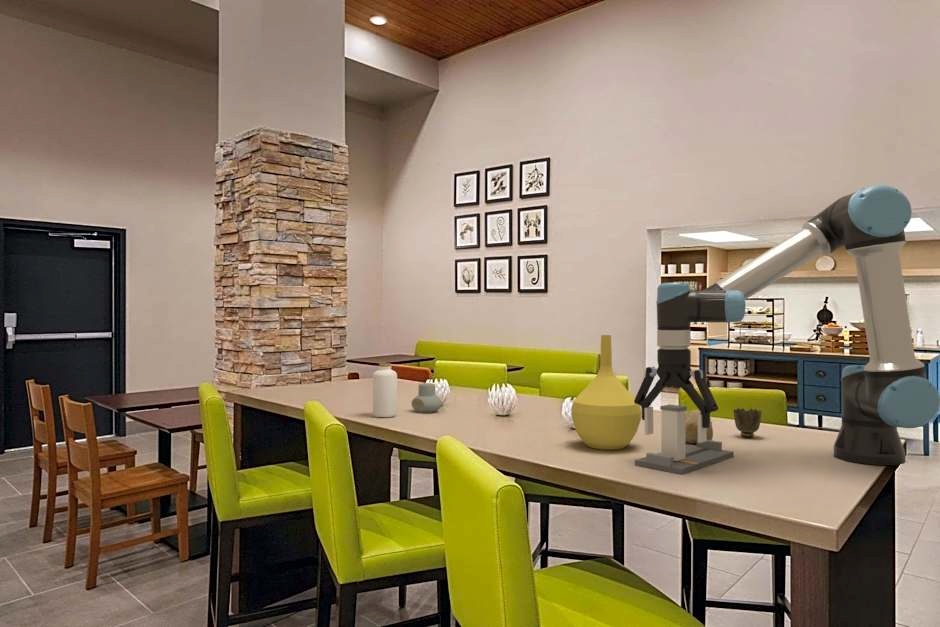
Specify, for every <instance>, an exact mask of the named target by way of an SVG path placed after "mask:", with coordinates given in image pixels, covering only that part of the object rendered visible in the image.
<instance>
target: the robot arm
mask: <svg viewBox="0 0 940 627" xmlns="http://www.w3.org/2000/svg"><path fill="white" fill-rule="evenodd" d="M911 218H912V205H911V203H910V200H909V199H908V198H907V196H906V195H905V194H904V193H903V192H902V191H900V190H899V189H898V188H895V187H894V186H891V185H886V184H885V185H883V184H876V185H871V186H867V187H863V188H860V189H858V190H857V191H855V192H852V193H850V194H847V195H845V196H841V197H840V198H838V199H836V200H835V201H833V202H832V203H831V204H830V205H828V206H827V207H825V209H823V210H821V211H820V212H819V213H818V214H816V215H815V216H813V217H812V218H810V219H809V220H807V221H806V222H804V223H803V224H802V227H801V230H799V231H797V232H795V233H794V234H792V235H790V236H789V237H788V238H786V239H784V240H782V241H781V242H779V243H777V244H776V245H774V246H773V247H771V248H770V249H768V250H766V251H765V252H763V253H761V254H760V255H758V256H757V257H755V258H753V259H752V260H750V261H748V262H747V263H745V264H744V265H742V266H740V267H738V268H737V269H736V270H734V271H732V272H730V273H729V274H727V275H725V276H724V277H722V278H721V279H719V280H717V281H716V282H714V283H713V284H712V285H709V286H708V287H706V288H705V289H703V290H692V288H691V284H690V283H689V282H679V281H678V282H676V281H675V282H662V283H659V285H658V286H657V290H656V291H657V293H656V294H657V295H656V296H657V297H656V322H657V323H656V328H657V329H656V334H657V335H656V336H657V338H656V341H657V344H656V345H657V347H659V348H658V350H657V359H656V360H657V365H658V366H657V368H656V367H655V366H648V367H646V368H645V374H644V378H643V380H642V382H641V385H640V386H639V389H638V391H637V393H636V396H635V397H634V398H635V400H634V403H635V404H639V405H640V408H641V420H642V421H644V435H645V436H650V435H653V434H654V407H653V406H652V403H653V402H654V401H655V400H656V398H657V397H658V396H659V395H660V394H661V392H662V391H663V390H664V389H665V388H674V389H682V390H683V391H684V392H685V393H686V394H687V396H688V397H689V398H690V399H691V401H692V402H693V404H694V405H695V407H696V408H697V409H699V410H700V412H701V413H699V414H698V443H702V442H705V441H707V436H706V428H708V427H709V426H710V418H711V413H714V412H716V411H718V410H719V406H718V404H717V402H716V400H715V398H714V395H713V394H712V391H711V389H710V386H709V385H708V382H707V381H706V377H705V371H704V370H703V369H695V370H692V369H691V364H692V363H691V362H692V358H691V357H692V356H691V354H692V353H691V349H690V348H689V347H691V323H693V324H694V323H713V324H714V323H727V324H729V323H739V322H742V321H743V319H744V318H745V315H746V300H747V299H749V298H751V297H753V295H755V294H758V293H759V292H760V291H762V290H764V289H765V288H767V287H768V286H770V285H772V284H774V283H775V282H777V281H779V280H781V279H782V278H784V277H785V276H787V275H789V274H790V273H792V272H793V271H795V270H797V269H799V268H800V267H802V266H803V265H805V264H807V263H809V262H810V261H812V260H813V259H815V258H817V257H819V256H820V255H822V256H828V255H830V254H832V253H833V252H835V251H837V250H839V249H842V248H844V247H845V252H846V253H847V254H849V255H850V256H852V257H853V258H854V263H855V269H856V274H857V275H856V276H857V282H858V288H859V294H860V303H861V309H862V315H863V321H864V327H865V328H864V329H865V334H866V341H867V348H868V354H869V355H868V356H869V362H868V363H867V364H851V365H846V366H844V367H843V368H842V371H841V378H840V382H841V425H840V428H839V431H838V433H837V436H836V440H835V441H834V443H833V444H834V445H833V456H834V457H836V458H837V459H840V460H844V461H848V462H852V463H858V464H866V465H873V466H874V465H879V466H898V465H900V466H901V465H903V464H905V463H906V452H905V448H904V445H903V442H902V440H901V437H900V435H899V434H900V433H899V432H898V431H899V430H898V428H902V429H917V428H920V427H923V426H925V425H926V424H928V423H930V422H931V421H932V419H933V418H935V416H936V415H937V414H938V412H939V409H940V392H939V390H938V388H937V387H936V386H935V385H934V384H933V383H932V382H931V381H930V380H928V379H927V374H926V368H925V363H924V362H922V361H921V360H919V359H918V358H916V356H915V350H914V342H913V337H912V329H911V324H910V322H911V321H910V316H909V310H908V303H907V296H906V290H905V284H904V277H903V270H902V264H901V262H902V261H901V258H900V256H901V255H900V250H901V249H902V248H903V246H904V245H905V244H907V241H906V236H905V235H906V234H905V229H906V228H907V226H908V224H909V223H910V221H911ZM656 376H657V377H658V378H659V379H658V380H657V382H656V383H655V385H654V387H653V388H652V389H651V390H650V388H651V386H652V383H653V381H654V379H655V377H656ZM691 378H692V379H693V380H694V381H695V383H696V386H697V388H698V390H699V392H700V393H699V392H698V391H697V389H696V388H695V387H694V384H693V382H692V381H691V380H690V379H691ZM649 390H650V391H649ZM648 392H649V393H648Z"/></svg>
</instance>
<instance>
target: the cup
mask: <svg viewBox="0 0 940 627" xmlns="http://www.w3.org/2000/svg"><path fill="white" fill-rule="evenodd" d="M762 412H763V411H762V410H761V409H760V410H758V408H754V409H753V408H749V409H748V410H746V409H745V408H744V407H742V408H739V407H737V408H736V409H735V408H734V409H733V417H734V424H735V427H736V429H737V430H738V431H740V437H741V438H743V439H753V438H754V437H755V433H756V432H757V431H758V430H759V429H760V425H761V419H762Z"/></svg>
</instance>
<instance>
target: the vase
mask: <svg viewBox="0 0 940 627" xmlns="http://www.w3.org/2000/svg"><path fill="white" fill-rule="evenodd" d="M612 354H613V353H612V334H601V335H600V354H599V355H600V358H599V359H600V364H599V365H600V367H599V370H598V372H597V374H596V376H595V377H594V378H593V379H592V380H591V381H590V383H589V384H587V386H586V387H585V388H584V389H583V390H582V391H581V392H580V393H579V394H578V395H577V396H576V397H575V398H574V399H573V401H572V405H571V412H570V413H571V415H570V416H571V419H572V422H573V426H574V429H575V432H576V433H577V435H578V436H579V439H580V440H581V442H583V443H584V444H585V445H586V446H587V447H589V448H592V449H594V450H595V449H596V450H604V451H615V450H616V451H617V450H621V449H624V448H626V447H627V446H628V445H629V444H630V443H631V442H632V441H633V438H635V436H636V434H637V433H638V429H639V426H640V423H641V420H642V407H641V406H640V405H639V404H635V403H634V400H635V398H636V397H635V396H634V395H633V394H631V392H630V391H629V390H628V389H627V388H626V387H625V386H624V384H623V383H622V382H621V381H620V379H619V378H618V377H617V376H616V373H615V372H614V369H613V365H612V360H613V359H612V358H613V357H612Z"/></svg>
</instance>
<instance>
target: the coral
mask: <svg viewBox="0 0 940 627" xmlns="http://www.w3.org/2000/svg"><path fill="white" fill-rule="evenodd" d="M699 413H701V412H700V410H699V409H698V408H697V409H693V410H686V443H688V444H690V445H693V444H694V445H695V444H696V445H697V439H698V414H699ZM712 424H713V421H712V419H711V417H710V426H709V427H708V428H706V436H707V440H713V437H714V430H713V425H712Z"/></svg>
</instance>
